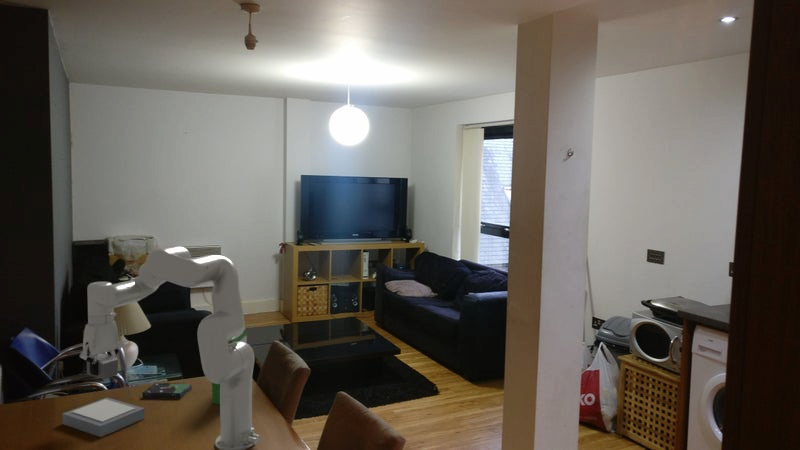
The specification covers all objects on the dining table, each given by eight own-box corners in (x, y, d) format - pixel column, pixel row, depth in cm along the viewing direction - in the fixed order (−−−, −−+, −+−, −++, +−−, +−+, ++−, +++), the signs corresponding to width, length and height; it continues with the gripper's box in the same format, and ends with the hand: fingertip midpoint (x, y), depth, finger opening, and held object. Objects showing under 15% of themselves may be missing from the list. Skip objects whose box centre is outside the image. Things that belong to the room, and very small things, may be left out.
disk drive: (142, 400, 206) (181, 400, 206) (141, 392, 206) (181, 392, 206) (154, 389, 216) (192, 389, 216) (154, 382, 216) (191, 382, 216)
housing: (100, 370, 189) (100, 353, 189) (118, 374, 185) (117, 357, 184) (86, 374, 185) (86, 357, 184) (104, 379, 180) (103, 361, 180)
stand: (144, 418, 188) (144, 407, 188) (100, 437, 174) (100, 425, 174) (107, 407, 198) (106, 396, 197) (62, 424, 183) (62, 412, 183)
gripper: (117, 312, 193) (118, 363, 194) (68, 323, 177) (70, 378, 179) (131, 315, 189) (132, 366, 190) (83, 326, 174) (84, 382, 175)
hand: (102, 371), depth 185 cm, fingers closed on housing, 5 cm apart
